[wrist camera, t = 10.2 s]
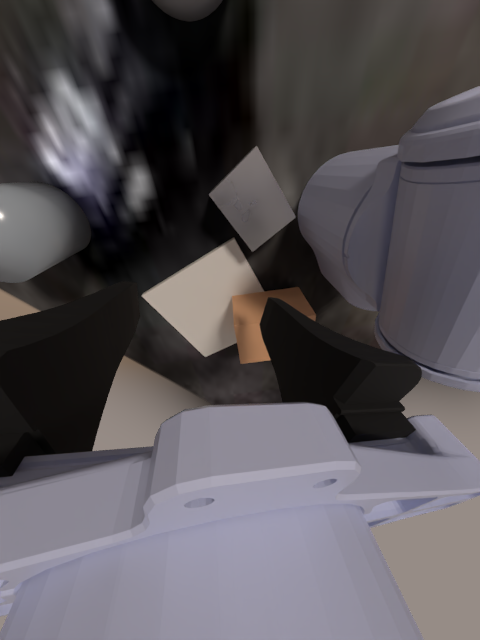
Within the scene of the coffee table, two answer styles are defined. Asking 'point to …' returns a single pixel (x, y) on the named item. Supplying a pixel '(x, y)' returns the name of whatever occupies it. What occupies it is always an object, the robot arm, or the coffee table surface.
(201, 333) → the ceramic tile
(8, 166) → the coffee table surface
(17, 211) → the grey rounded capsule
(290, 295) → the terracotta block
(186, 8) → the matte grey ellipsoid
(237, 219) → the metal tin
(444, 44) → the coffee table surface
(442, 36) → the coffee table surface
